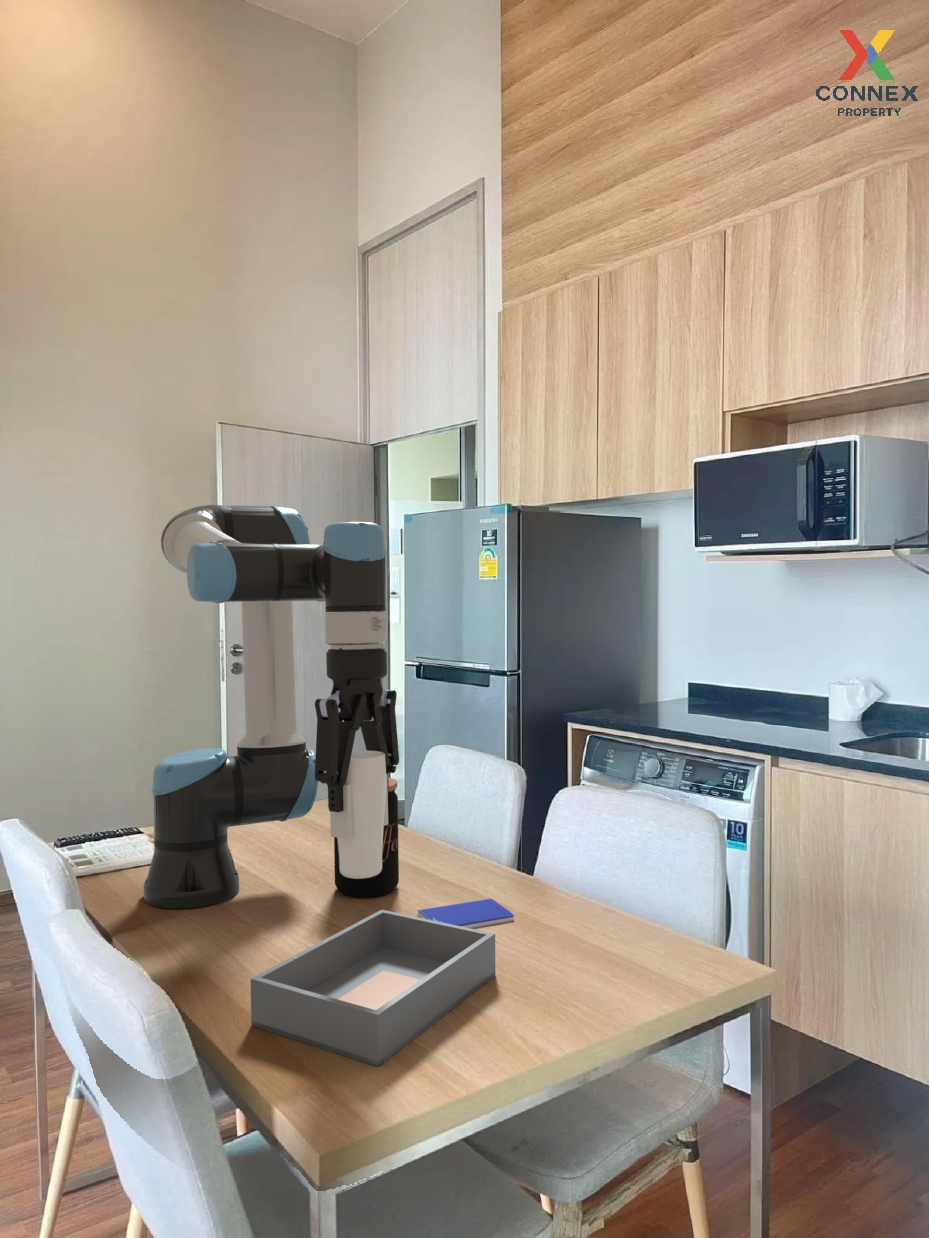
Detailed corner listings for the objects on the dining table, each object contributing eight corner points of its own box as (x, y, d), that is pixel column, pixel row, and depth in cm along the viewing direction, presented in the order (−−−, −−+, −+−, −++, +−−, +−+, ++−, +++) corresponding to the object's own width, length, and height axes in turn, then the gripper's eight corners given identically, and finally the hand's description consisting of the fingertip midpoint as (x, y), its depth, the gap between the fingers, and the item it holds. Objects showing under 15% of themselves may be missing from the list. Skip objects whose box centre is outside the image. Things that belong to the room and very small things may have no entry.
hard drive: (437, 926, 131) (513, 913, 136) (417, 908, 138) (490, 896, 143) (437, 937, 131) (513, 924, 136) (417, 918, 138) (490, 906, 144)
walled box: (251, 1025, 104) (250, 978, 104) (382, 948, 126) (381, 909, 126) (378, 1066, 95) (377, 1014, 94) (495, 975, 117) (495, 933, 116)
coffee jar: (347, 904, 144) (346, 792, 143) (326, 884, 153) (324, 779, 153) (409, 893, 149) (407, 784, 148) (384, 875, 158) (383, 773, 158)
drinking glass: (335, 866, 116) (333, 750, 116) (388, 864, 117) (386, 749, 116) (331, 882, 109) (329, 759, 109) (387, 880, 110) (385, 758, 110)
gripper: (328, 651, 102) (333, 853, 103) (425, 643, 119) (428, 816, 119) (279, 650, 106) (283, 845, 106) (379, 643, 123) (382, 811, 123)
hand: (360, 829), depth 113 cm, fingers closed on drinking glass, 7 cm apart
